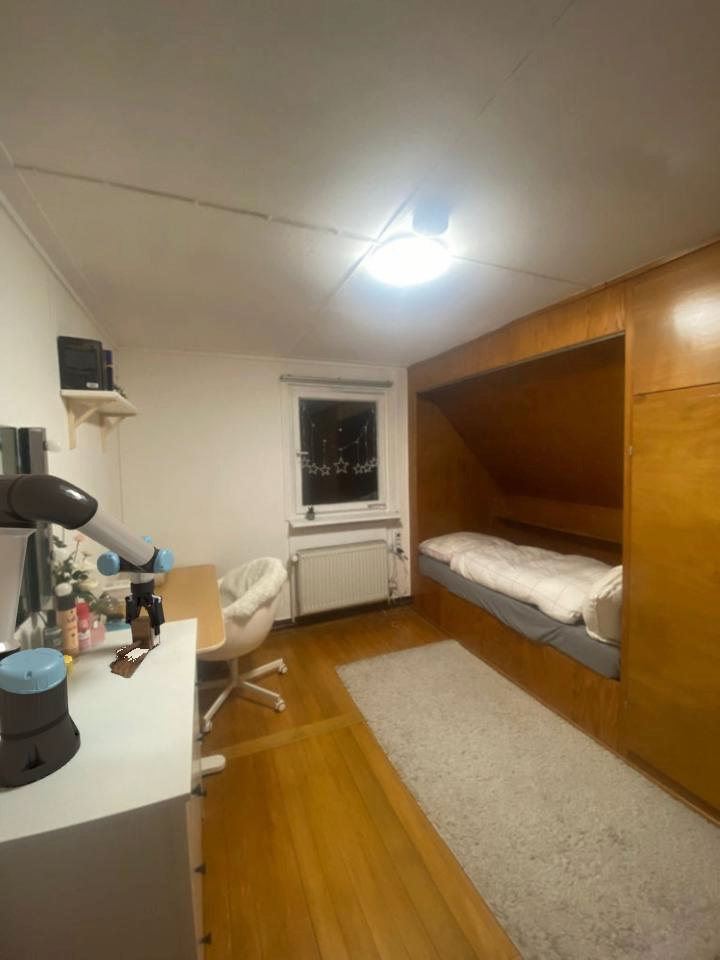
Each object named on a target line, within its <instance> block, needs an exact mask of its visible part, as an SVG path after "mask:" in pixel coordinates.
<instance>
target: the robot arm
mask: <svg viewBox="0 0 720 960" xmlns="http://www.w3.org/2000/svg"><path fill="white" fill-rule="evenodd" d="M39 522H40V523H41V522H43V523H49V524H54V525H57V526H60V527H62V528H64V529H65V530H66V531H67V530H68V531H77V532H79V533H80V534H83V535H84V536H86V537H87V538H89V539H91V540H92V541H93V542H96V543H97V544H99V545H101V546H102V547H104V548H106V549H107V550H109V551H106V552H104V553H102V554H101V555H100V556H98V558H97V561H96V568H97V570H98V572H99V573H100V574H101V575H103V576H104V577H111V576H116V575H118V574H120V573H125V574H126V573H127V574H129V582H130V583H129V586H130V593H131V594H129V595H127V596H124V601H125V624H128V625H130V631H131V634H132V627H131V621H133V620H134V619H136V618H138V617H140V616H141V611H142V607H143V608H144V610H145V611H146V612H147V616H149V617H150V620H151V623H152V625H153V627H151V636H152V646H154V645H156V644H158V643H159V634H160V635H161V626H162V625H163V624H165V622H166V620H165V613H164V609H163V608H164V607H163V596H162V595H160V596H156V593H155V592H154V591H155V589H156V585H155V582H156V581H155V579H154V578H155V574H156V575H157V574H166V573H168V572H169V571H171V569H172V567H173V565H174V562H175V556H174V554H173V552H172V551H171V550H170V549H164V548H160V549H159V548H157V547H156V546H154V545H153V542H152V540H153V539H152V538H151V536H149V535H138V534H137V533H136V532H134V531H133V530H131V529H130V528H129V527H128V526H126V525H125V524H124V523H122V522H121V521H120V520H118V519H116V518H115V517H114V516H112V515H111V514H109V512H106V510H104V509H103V508H102V507H100V504H99V502H98V500H97V499H96V498H95V497H93V496H92V495H90V494H89V493H88V492H86V491H84V490H83V489H82V488H80V487H79V486H76V485H75V484H73V483H71V482H69V481H67V480H65V479H63V478H60V477H57V476H56V475H53V474H52V475H51V474H47V473H38V472H37V473H11V474H10V473H2V474H0V787H1V786H4V787H3V788H8V787H7V786H14V787H19V786H23V785H22V784H24V785H26V784H25V783H27V784H29V783H28V782H30V783H32V782H31V781H33V782H35V781H34V780H36V779H38V780H40V779H42V778H41V777H43V776H45V777H47V776H49V775H50V774H52V773H54V772H55V771H57V770H59V769H60V768H62V767H63V766H64V765H66V764H67V763H68V762H69V761H70V760H72V759H73V758H74V756H75V755H76V754H77V752H79V750H80V748H81V743H82V741H81V733H80V730H79V729H78V726H77V725H76V723H75V722H74V719H73V718H72V716H71V714H70V710H69V708H70V707H69V696H68V695H69V693H68V677H67V676H68V675H67V674H68V673H67V665H66V662H65V657H64V655H63V653H62V652H60V650H58V649H54V648H50V647H36V648H35V649H34V648H33V649H31V648H29V649H25V650H21V647H22V643H21V642H19V641H18V640H17V639H16V638H15V631H16V624H17V623H16V622H17V615H18V611H19V610H18V609H19V602H20V595H21V589H22V581H23V574H24V568H25V567H24V566H25V558H26V552H27V546H28V545H27V544H28V539H29V537H30V535H32V534H33V533H35V532H37V531H38V523H39ZM48 774H49V775H48ZM46 775H47V776H46ZM39 778H40V779H39ZM43 778H44V777H43ZM36 781H37V780H36ZM18 785H19V786H18ZM5 786H6V787H5Z"/></svg>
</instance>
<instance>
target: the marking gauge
mask: <svg viewBox="0 0 720 960" xmlns="http://www.w3.org/2000/svg"><path fill="white" fill-rule="evenodd" d="M131 627H132V633H131V637H132V638H131V640H132V643H130V644H131V645H130V644H128V645H129V646H128V645H127V646H128V647H126V648H124V649H123V650H121V651H119V652H118V653H117V654H116V657H117V656H118V657H119V658H121V657H125V655H126V654H128V653H129V652H131V651H132V650H134V649H136V648H140V649H149V651H151V650H153V649H154V648H155V647H154V646H155V645H154V646H152V636H151V627H153V625H152V623H151V620H150V617H149V615H140V616H139V617H138V618H136V619H134V620H133V621H131V626H130V628H131ZM159 643H160V644H161V633H160V634H159ZM156 645H157V644H156ZM157 646H158V645H157ZM153 647H154V648H153ZM152 648H153V649H152ZM150 649H151V650H150Z"/></svg>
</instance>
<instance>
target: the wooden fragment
mask: <svg viewBox="0 0 720 960" xmlns="http://www.w3.org/2000/svg"><path fill="white" fill-rule="evenodd" d="M120 648H121V649H124V648H122V647H120ZM148 654H149V653H148V652H147V653H143V654H142V655H141V656H139V657H138V658H135V659H136V660H135V659H133V658H132V656H131V657H130V658H132V660H130V661H128V660H129V659H130V658H128V656H125V658H124V657H121V658H119V657H118V658H116V659H115V660H114V661H112V662H110V665H109V666H110V667H111V670H110V673H112V674H115V675H118V676H121V677H123V678H124V679H131V677H132V676H133V674H134V673H135V672H136V670H137V669H138V668H139V667H140V665H141V663H142V662H143V660H144V659H145V658H146V657H147V655H148ZM133 660H134V662H133Z"/></svg>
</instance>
